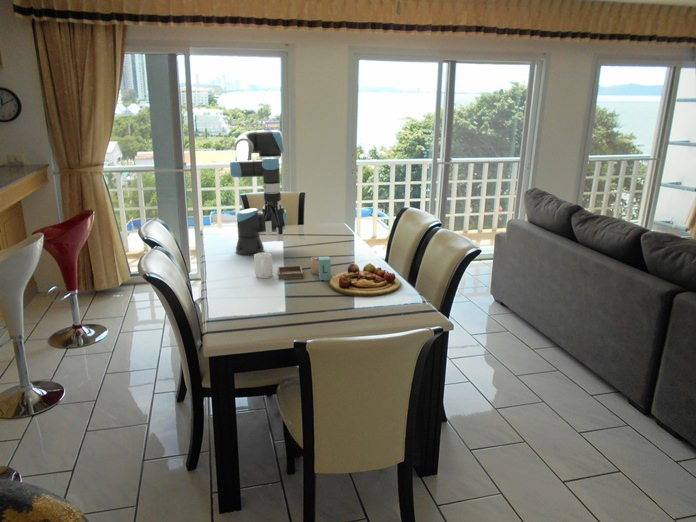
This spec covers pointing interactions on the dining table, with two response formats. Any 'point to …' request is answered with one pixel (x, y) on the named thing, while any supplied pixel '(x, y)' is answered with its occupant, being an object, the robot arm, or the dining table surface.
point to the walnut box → (290, 272)
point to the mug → (263, 265)
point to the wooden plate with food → (365, 281)
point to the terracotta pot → (314, 265)
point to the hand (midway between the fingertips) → (274, 237)
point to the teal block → (324, 268)
